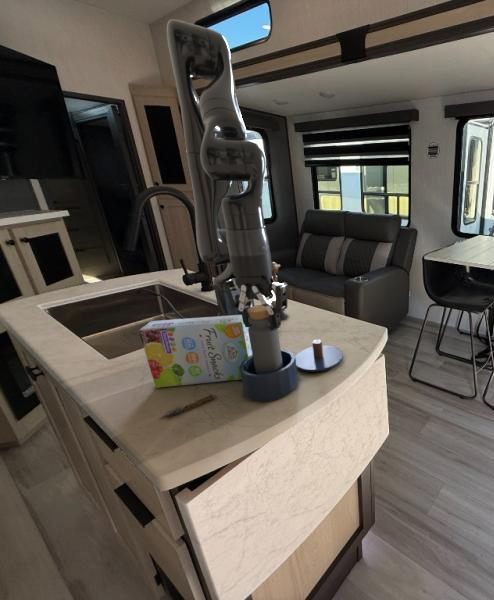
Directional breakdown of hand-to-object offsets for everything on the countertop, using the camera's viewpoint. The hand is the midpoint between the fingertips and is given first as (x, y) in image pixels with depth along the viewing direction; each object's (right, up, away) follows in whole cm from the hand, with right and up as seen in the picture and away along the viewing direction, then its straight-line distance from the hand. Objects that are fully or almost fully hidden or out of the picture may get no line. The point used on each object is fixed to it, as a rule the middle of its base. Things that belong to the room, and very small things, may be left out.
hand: (262, 327), depth 69 cm
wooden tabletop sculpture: (-12, 0, +43) cm, 45 cm away
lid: (+8, -10, +15) cm, 20 cm away
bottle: (0, -10, +4) cm, 11 cm away
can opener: (-15, -17, -2) cm, 22 cm away
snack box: (-17, -13, +8) cm, 23 cm away
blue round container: (0, -14, +5) cm, 15 cm away
